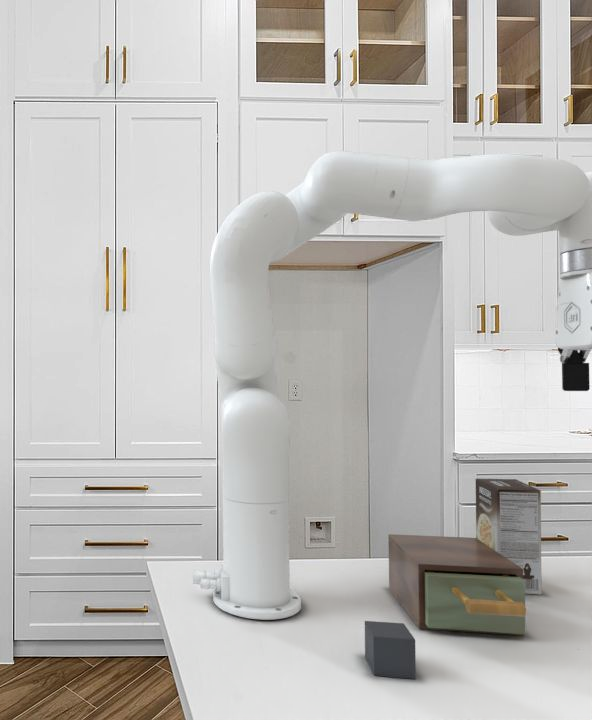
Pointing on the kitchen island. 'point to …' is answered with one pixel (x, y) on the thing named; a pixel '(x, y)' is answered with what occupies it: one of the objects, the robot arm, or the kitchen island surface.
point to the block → (390, 649)
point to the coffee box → (512, 525)
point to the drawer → (475, 601)
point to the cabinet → (438, 567)
